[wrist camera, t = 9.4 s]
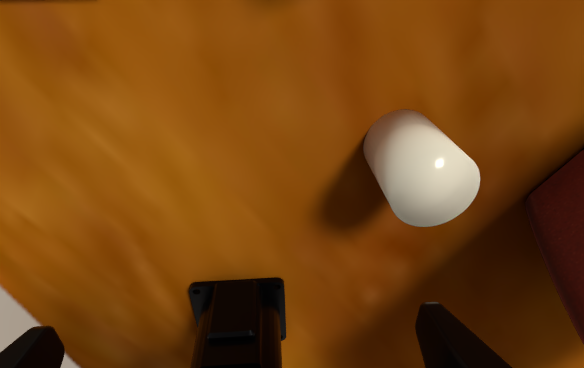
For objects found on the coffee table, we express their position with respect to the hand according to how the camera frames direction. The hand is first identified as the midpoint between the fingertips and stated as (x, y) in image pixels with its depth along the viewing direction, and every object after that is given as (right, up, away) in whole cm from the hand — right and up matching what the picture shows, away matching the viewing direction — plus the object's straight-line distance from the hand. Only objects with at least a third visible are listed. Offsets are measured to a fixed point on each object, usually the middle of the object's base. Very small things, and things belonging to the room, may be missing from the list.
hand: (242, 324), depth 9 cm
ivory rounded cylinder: (+7, +6, +11) cm, 14 cm away
